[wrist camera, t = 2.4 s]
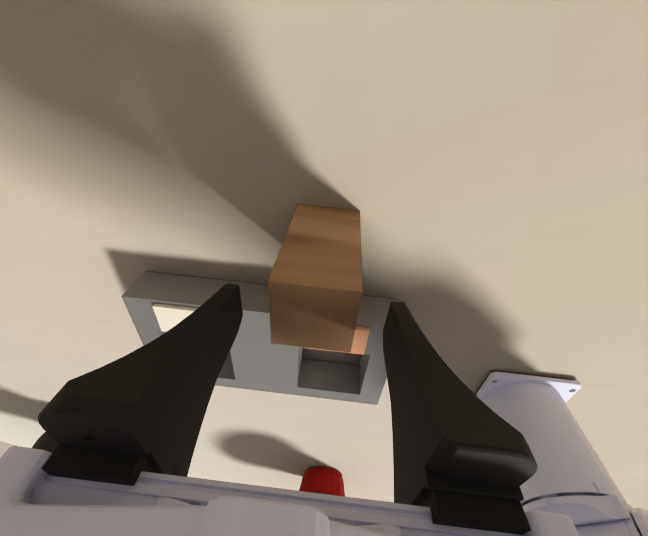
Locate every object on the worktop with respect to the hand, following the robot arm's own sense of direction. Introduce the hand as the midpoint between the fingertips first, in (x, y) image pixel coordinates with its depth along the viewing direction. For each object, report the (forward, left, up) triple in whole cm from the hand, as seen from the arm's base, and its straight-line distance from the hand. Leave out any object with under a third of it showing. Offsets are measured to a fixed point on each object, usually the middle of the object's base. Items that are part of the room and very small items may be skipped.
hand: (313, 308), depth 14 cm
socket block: (-10, +4, -7) cm, 13 cm away
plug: (0, 0, -7) cm, 7 cm away
